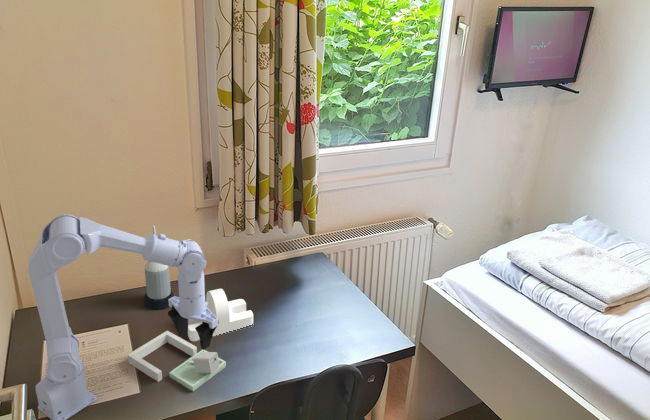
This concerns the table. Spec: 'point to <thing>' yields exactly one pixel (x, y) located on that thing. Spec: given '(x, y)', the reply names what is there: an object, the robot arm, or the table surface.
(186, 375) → the tray
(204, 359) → the usb wall charger
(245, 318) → the u-slot stand
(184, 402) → the table surface
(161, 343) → the bay
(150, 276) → the humidifier
